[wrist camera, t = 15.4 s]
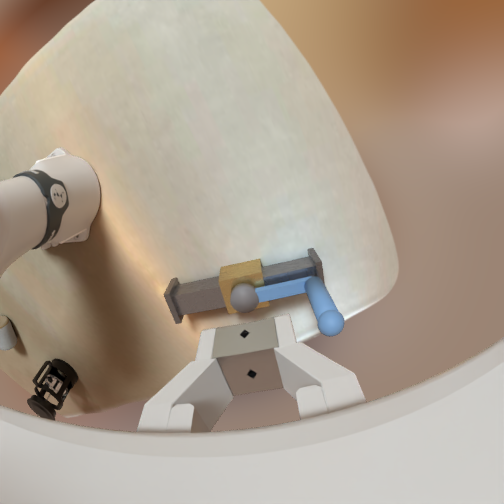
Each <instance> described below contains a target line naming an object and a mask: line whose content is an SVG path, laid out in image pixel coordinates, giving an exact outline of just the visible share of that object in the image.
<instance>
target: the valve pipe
mask: <svg viewBox="0 0 504 504" xmlns="http://www.w3.org/2000/svg"><path fill="white" fill-rule="evenodd" d="M308 255H309V257H305V258H301V259H296V260H292V261H287V262H283V263H278V264H274V265H269V266H265V267H262V266H261V262H260V259H256V260H251V261H247V262H242V263H238V264H233V265H228V266H224V267H221V269H220V275H219V276H218V277H213V278H209V279H204V280H199V281H194V282H189V283H184V284H179V282H178V280H177V278H173V279H171V281H170V283H169V285H168V287H167V289H166V291H165V293H164V297H165V299H166V302H167V304H168V306H169V309H170V311H171V313H172V316H173V318H174V320H175V323H176V324H178V323H181V322H182V319H183V316H184V315H185V314H190V313H196V312H202V311H207V310H213V309H218V308H223V307H227V310H228V314H232V313H238V311H236V310H235V309H234V308H233V307H232V305H231V303H230V298H231V291H232V289H233V288H234V287H235V286H236V285H238V284H241V283H248V284H251V285H253V286H254V287H255V288H259V287H264V286H268V285H273V284H278V283H282V282H287V281H292V280H296V279H301V278H305V277H309V276H311V277H314V276H316V277H319V278H321V280H322V281H323V283H324V276H323V268H322V261H321V260H320V258H319V257H318V255H317V253H316V252H315V250H314V249H313V248H311V249H308ZM324 285H325V284H324ZM267 306H269V301H264V302H259V303H258V305H257V307H256V308H255V309H258V308H262V307H267Z"/></svg>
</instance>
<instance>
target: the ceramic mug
mask: <svg viewBox="0 0 504 504" xmlns="http://www.w3.org/2000/svg"><path fill="white" fill-rule="evenodd" d="M16 343H17V338H16V335H15V333H14V330H13V328H12V325H11V323H10V321H9V319H8V318H7V317H6V316H0V349H1V350H9V349H11V348H13V347H14V346H15V345H16Z"/></svg>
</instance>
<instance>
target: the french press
mask: <svg viewBox="0 0 504 504" xmlns="http://www.w3.org/2000/svg"><path fill="white" fill-rule="evenodd" d="M47 365H49V367H48V370H47V371H46V373H45V374H44V376H43V377H42V379H41V380H40V382H39V383H38V382H37V380H38V378H39V377H40V375H41V374H42V372H43V371H44V369H45V368H46V366H47ZM56 368H57V369H59V370H61V371H62V372H64V373H65V374H66V375H67V377H66V378H64V377H63V376H61V375H60V374H59V373H58V372H57V370H56ZM44 380H45V382H46V383H45V384H44V385H43V384H42V383H43V382H44ZM77 380H78V376H77V374H76V372H75V370H74V369H73V368H72V367H71V366H70V365H69V364H68V363H66V362H65V361H63V360H60V359H53V360H52V362H50V361H46V362H45V363H44V365H43V366H42V367H41V369H40V370H39V372H38V373H37V375H36V376H35V377H34V379H33V383H34V384H35V385H36V387H35V392H36V394H37V396H36V395H32V397H31V398H30V399H28V400H27V403H28V405H29V406H30V408H31V409H32V410H33V411H34V412H35V413H36V414H37V416H40V417H42V418H46V419H50V420H54V421H55V415H56V412H55V410H54V409H56V410H60V409H61V408H62V406H63V402H64V400H65V398H66V396H67V394H68V393H69V391H70V389H71V388H73V386H74V384H75V383H76V382H77ZM37 387H39V388H42V389H41V391H40V392H39V391H38V389H37ZM49 387H50V388H51V389H50V388H49ZM46 391H47V392H49V393H50V394H49V396H48V398H47V399H45V398H44V397H43V396H44V395H45V393H46ZM54 391H55V392H56V393H57V394H56V393H55V392H54ZM50 395H52V396H54V397H55V398H56V399H57V401H58V402H59V403H58V405H57V406H56V405H54V404H52V403H50V402H49V401H47V400H48V399H49V397H50ZM62 395H63V396H62ZM61 397H62V398H61Z"/></svg>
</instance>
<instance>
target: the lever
mask: <svg viewBox="0 0 504 504" xmlns="http://www.w3.org/2000/svg"><path fill="white" fill-rule="evenodd" d="M301 293H307V296H308V298H309V301H310V303H311V306H312V308H313V311H314V313H315V316H316V319H317V321H318V328H319V330H320V332H321V333H322V334H324V335H326V336H335V335H337V334H339V333H340V332H341V331H342V329H343V327H344V318H343V316H342V314H341V313H340V312H339V311H338V310H337V308H336V306H335V304H334V302H333V300H332V298H331V296H330V294H329V292H328V291H327V289H326V287H325V285H324V283H323V281H322V280H321V278H319V277H316V276H314V277H311V276H309V277H305V278H301V279H296V280H292V281H287V282H282V283H278V284H273V285H268V286H264V287H259V288H255V287H254V286H253V285H251V284H248V283H241V284H238V285H236V286H235V287H234V288H233V289H232V291H231V298H230V303H231V305H232V307H233V308H234V309H235V310H236V311H238V312H242V313H247V312H251V311H253V310H254V309H255V308H256V307H257V305H258V303H259V302H264V301H269V300H274V299H279V298H283V297H288V296H292V295H297V294H301Z"/></svg>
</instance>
